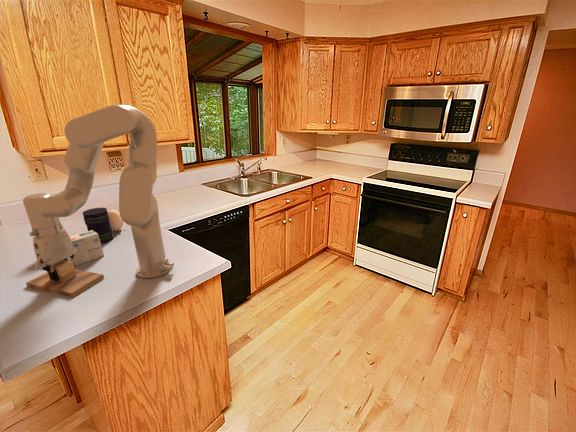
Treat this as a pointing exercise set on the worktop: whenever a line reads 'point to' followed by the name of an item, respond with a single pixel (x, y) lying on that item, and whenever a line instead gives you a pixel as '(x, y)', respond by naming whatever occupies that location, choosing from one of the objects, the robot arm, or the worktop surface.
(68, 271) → the block
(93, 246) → the light bulb box
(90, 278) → the board
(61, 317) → the worktop surface
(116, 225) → the egg
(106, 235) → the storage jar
